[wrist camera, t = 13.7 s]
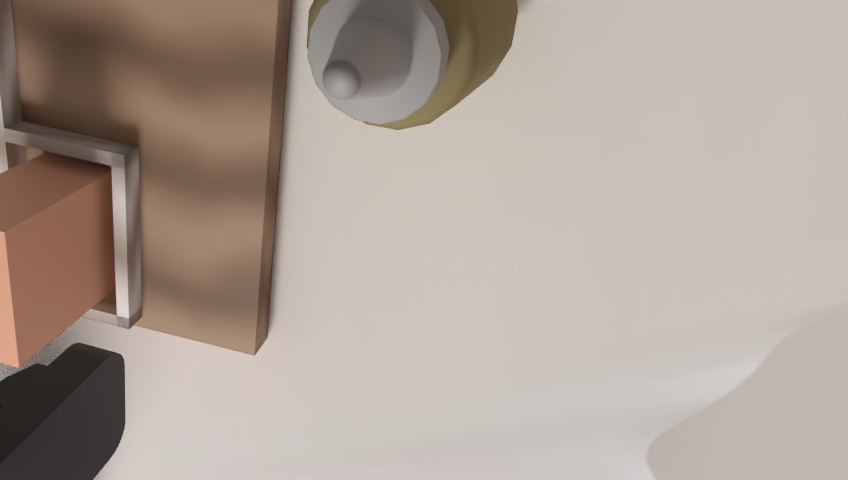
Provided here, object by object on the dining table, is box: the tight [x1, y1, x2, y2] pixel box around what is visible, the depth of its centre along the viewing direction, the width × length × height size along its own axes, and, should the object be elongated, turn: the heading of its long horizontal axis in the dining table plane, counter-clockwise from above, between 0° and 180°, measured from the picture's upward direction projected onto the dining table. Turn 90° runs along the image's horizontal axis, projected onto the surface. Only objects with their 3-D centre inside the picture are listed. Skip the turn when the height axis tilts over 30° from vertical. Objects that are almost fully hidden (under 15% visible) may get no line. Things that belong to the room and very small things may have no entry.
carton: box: [0, 154, 116, 368], centre depth 40 cm, size 5×8×9 cm, turn 170°
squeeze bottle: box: [307, 0, 518, 130], centre depth 28 cm, size 8×8×18 cm
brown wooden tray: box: [0, 0, 292, 356], centre depth 41 cm, size 24×16×4 cm
